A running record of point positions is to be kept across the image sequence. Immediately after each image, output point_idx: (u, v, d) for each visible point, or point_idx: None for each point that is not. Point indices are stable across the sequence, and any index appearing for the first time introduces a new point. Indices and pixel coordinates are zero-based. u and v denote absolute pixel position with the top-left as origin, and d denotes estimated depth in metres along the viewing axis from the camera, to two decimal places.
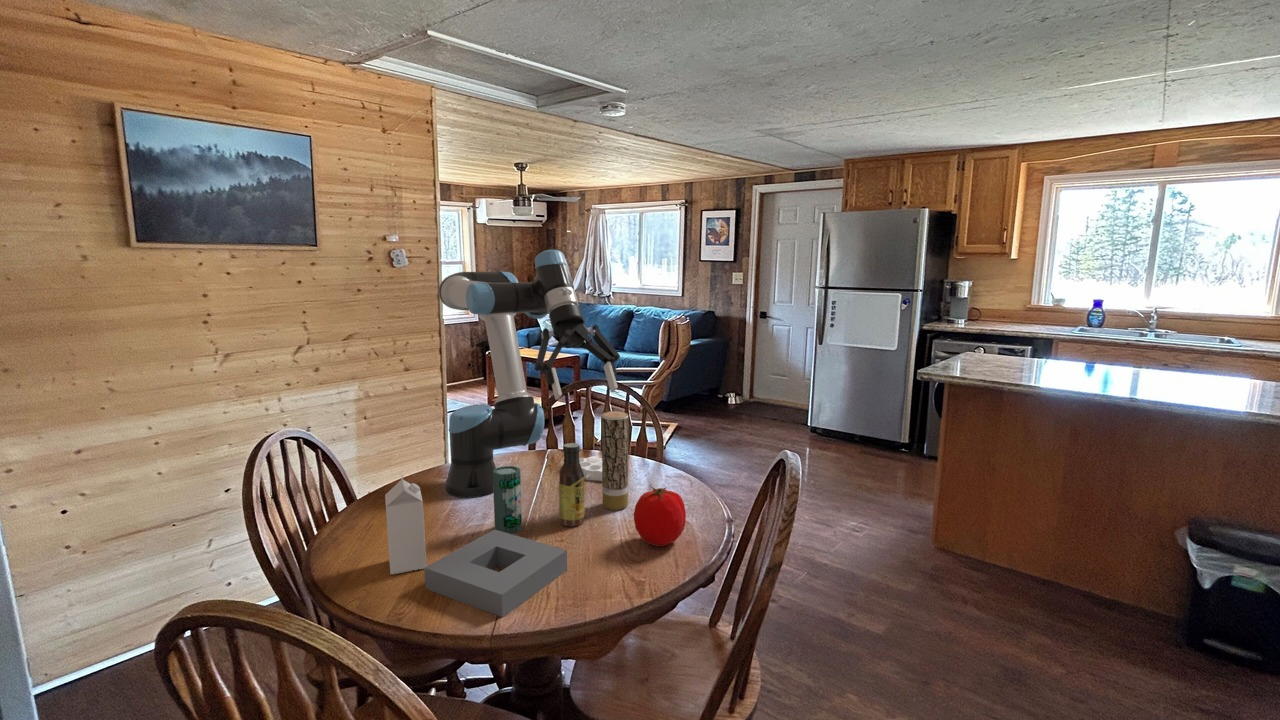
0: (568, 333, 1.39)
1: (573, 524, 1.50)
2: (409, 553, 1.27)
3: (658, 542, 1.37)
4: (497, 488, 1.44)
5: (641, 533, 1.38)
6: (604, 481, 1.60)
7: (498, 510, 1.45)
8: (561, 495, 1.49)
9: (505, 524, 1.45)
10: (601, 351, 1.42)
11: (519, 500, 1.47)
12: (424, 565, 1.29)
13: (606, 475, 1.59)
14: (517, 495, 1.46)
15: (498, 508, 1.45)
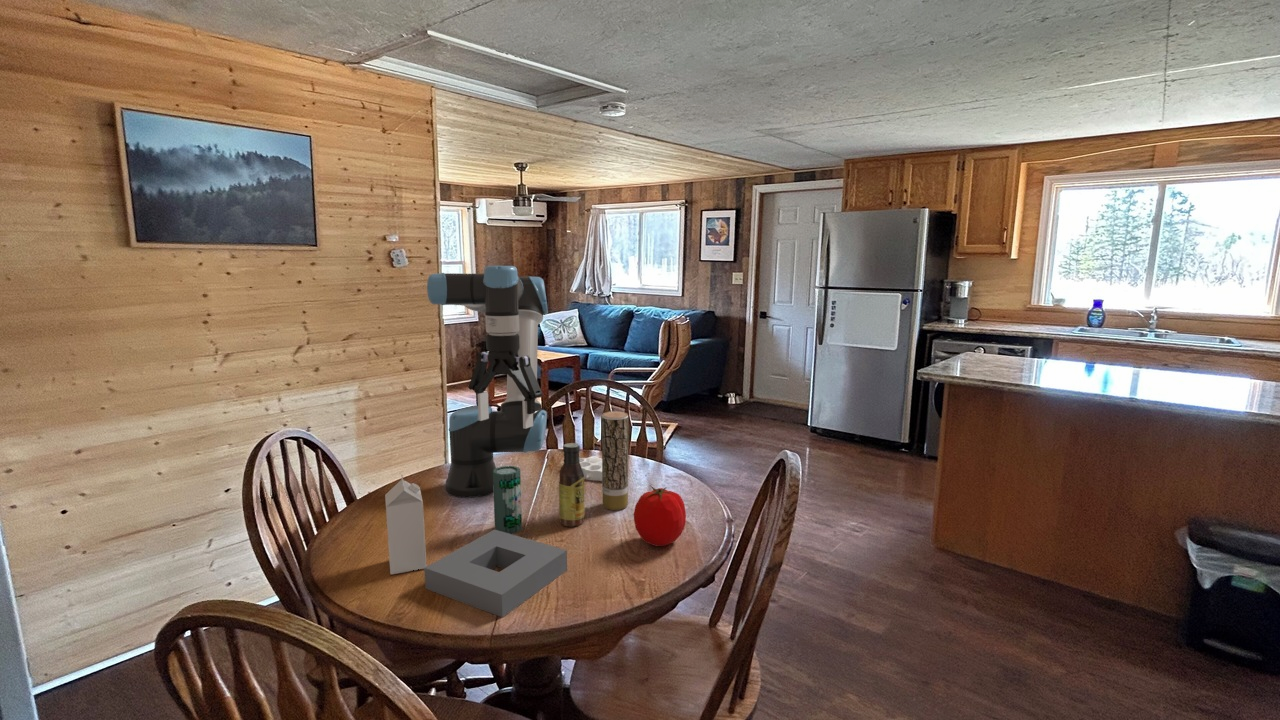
0: (493, 364, 1.41)
1: (573, 524, 1.50)
2: (409, 553, 1.27)
3: (658, 542, 1.37)
4: (497, 488, 1.44)
5: (641, 533, 1.38)
6: (604, 481, 1.60)
7: (498, 510, 1.45)
8: (561, 495, 1.49)
9: (505, 524, 1.45)
10: (520, 387, 1.39)
11: (519, 500, 1.47)
12: (424, 565, 1.29)
13: (606, 475, 1.59)
14: (517, 495, 1.46)
15: (498, 508, 1.45)
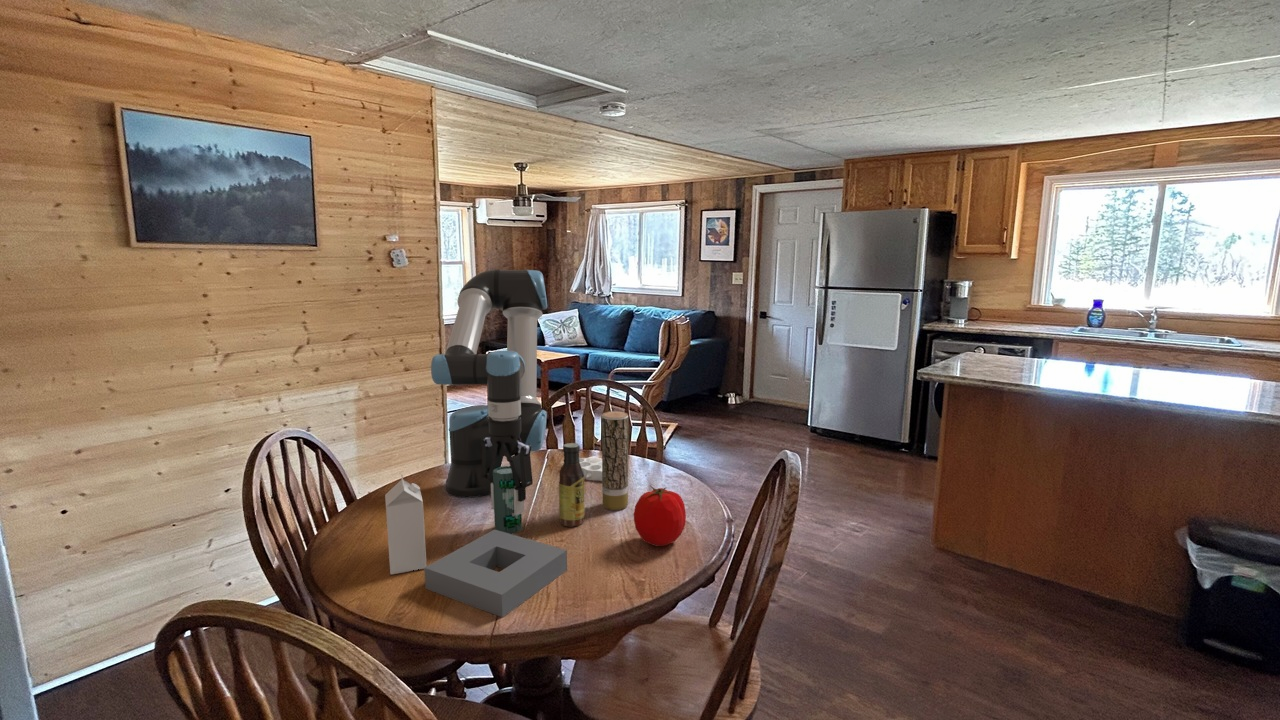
0: (496, 447, 1.44)
1: (573, 524, 1.50)
2: (409, 553, 1.27)
3: (658, 542, 1.37)
4: (497, 488, 1.44)
5: (641, 533, 1.38)
6: (604, 481, 1.60)
7: (498, 510, 1.45)
8: (561, 495, 1.49)
9: (505, 524, 1.45)
10: (514, 474, 1.43)
11: None
12: (424, 565, 1.29)
13: (606, 475, 1.59)
14: None
15: (498, 508, 1.45)
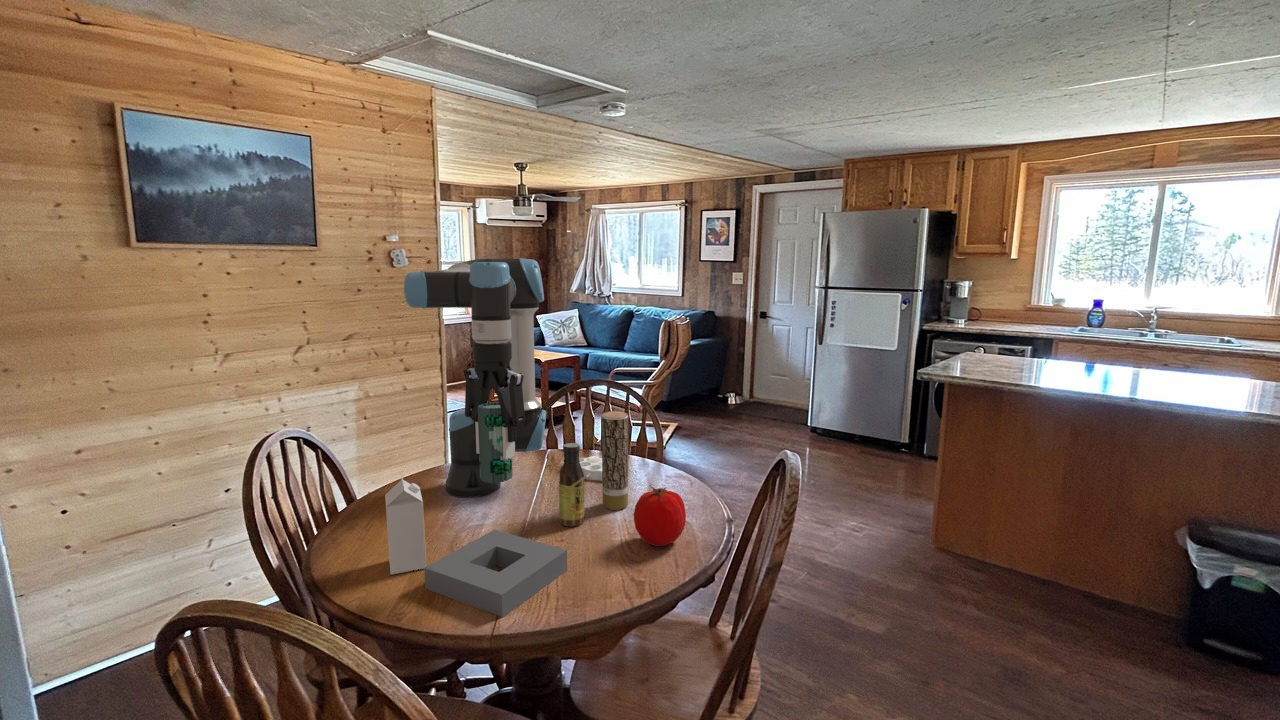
0: (481, 377, 1.21)
1: (573, 524, 1.50)
2: (409, 553, 1.27)
3: (658, 542, 1.37)
4: (482, 426, 1.20)
5: (641, 533, 1.38)
6: (604, 481, 1.60)
7: (484, 453, 1.21)
8: (561, 495, 1.49)
9: (492, 469, 1.21)
10: (503, 409, 1.20)
11: None
12: (424, 565, 1.29)
13: (606, 475, 1.59)
14: None
15: (484, 450, 1.21)
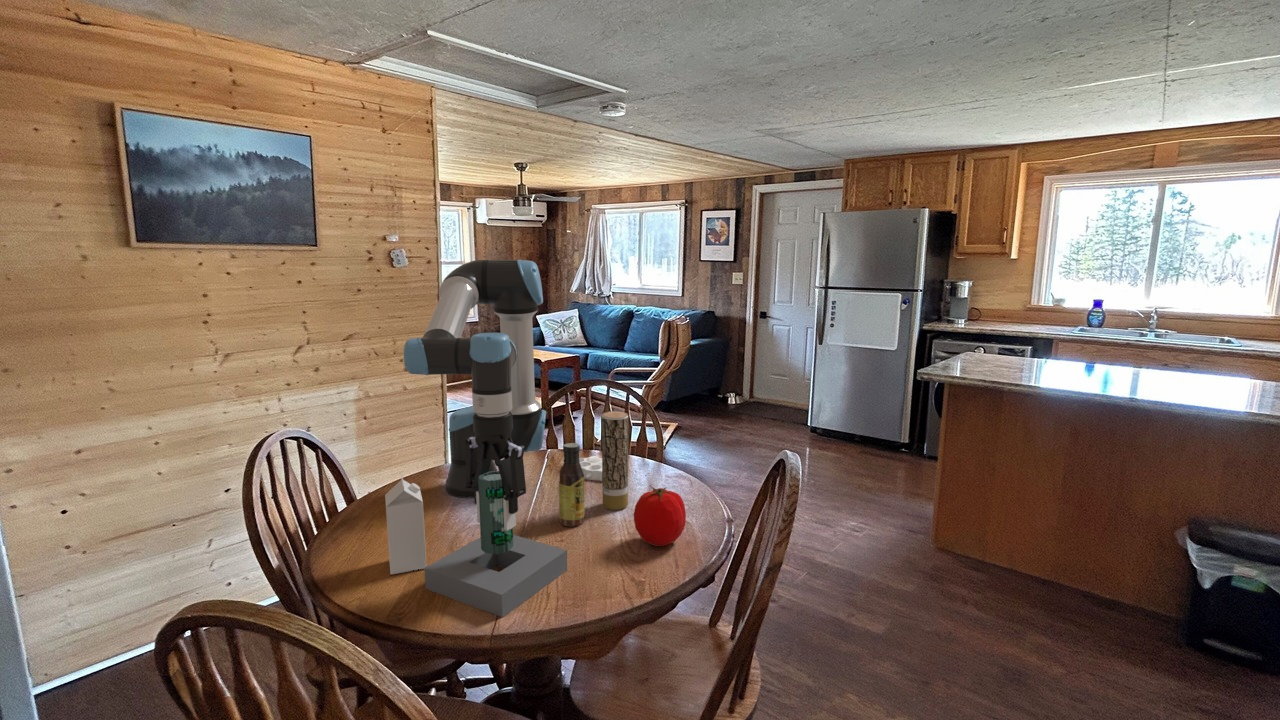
0: (482, 448, 1.20)
1: (573, 524, 1.50)
2: (409, 553, 1.27)
3: (658, 542, 1.37)
4: (483, 498, 1.20)
5: (641, 533, 1.38)
6: (604, 481, 1.60)
7: (485, 524, 1.21)
8: (561, 495, 1.50)
9: (493, 541, 1.21)
10: (504, 481, 1.19)
11: None
12: (424, 565, 1.29)
13: (606, 475, 1.59)
14: None
15: (485, 522, 1.21)
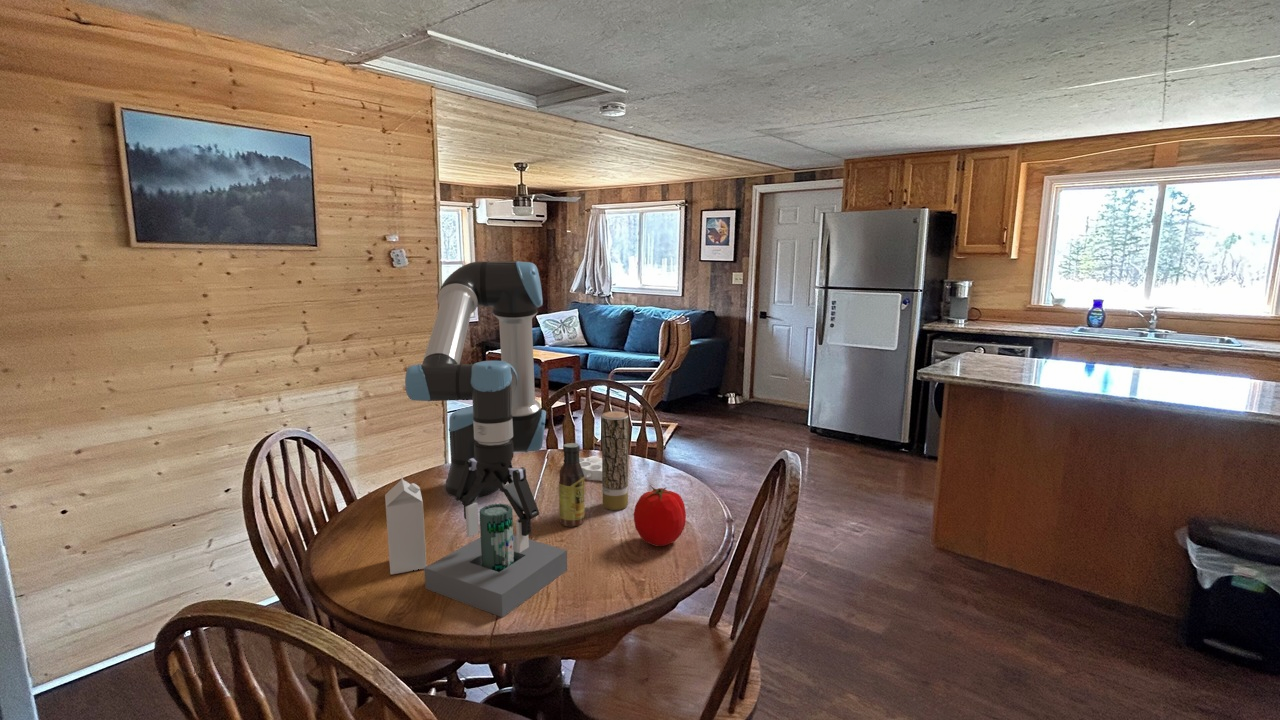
0: (482, 475, 1.21)
1: (573, 524, 1.50)
2: (409, 553, 1.27)
3: (658, 542, 1.37)
4: (484, 532, 1.21)
5: (641, 533, 1.38)
6: (604, 481, 1.60)
7: (486, 558, 1.22)
8: (561, 495, 1.49)
9: None
10: (513, 505, 1.19)
11: (511, 545, 1.24)
12: (424, 565, 1.29)
13: (606, 475, 1.59)
14: (508, 540, 1.22)
15: (486, 555, 1.22)
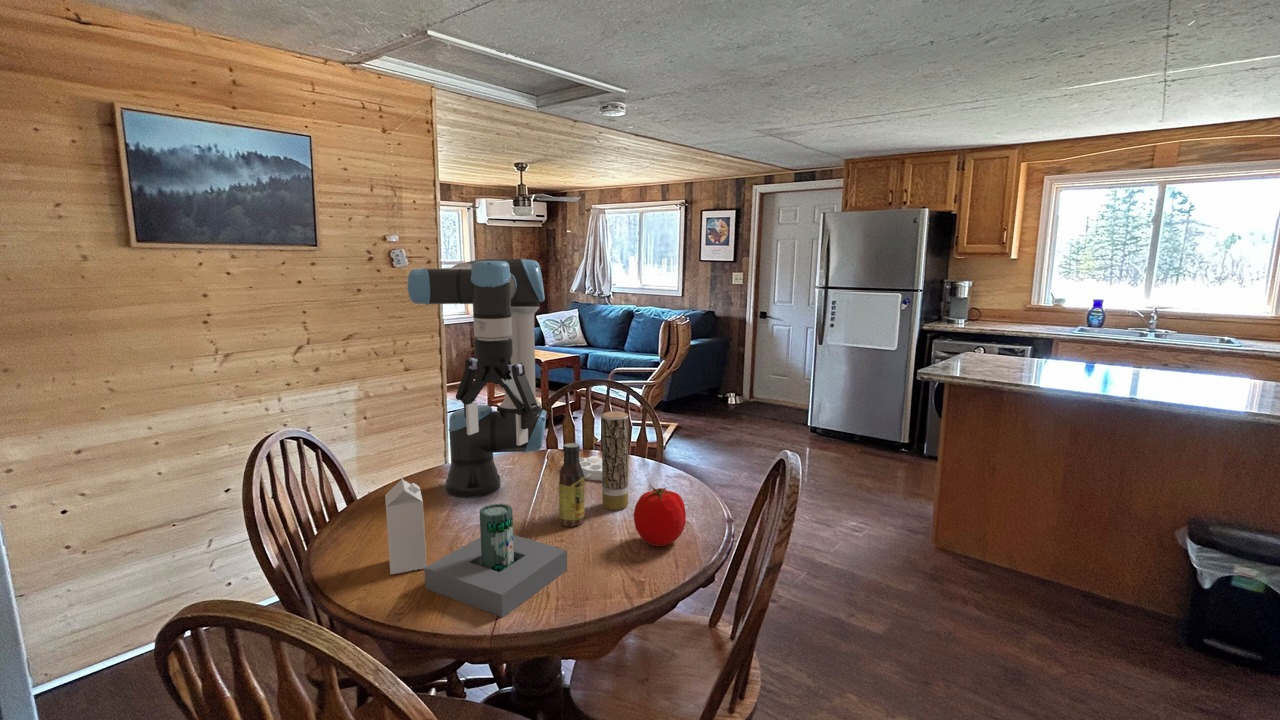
0: (482, 372, 1.25)
1: (573, 524, 1.50)
2: (409, 553, 1.27)
3: (658, 542, 1.37)
4: (485, 532, 1.21)
5: (641, 533, 1.38)
6: (604, 481, 1.60)
7: (486, 558, 1.22)
8: (561, 495, 1.49)
9: None
10: (513, 399, 1.23)
11: (511, 545, 1.24)
12: (424, 565, 1.29)
13: (606, 475, 1.59)
14: (508, 540, 1.22)
15: (486, 555, 1.22)
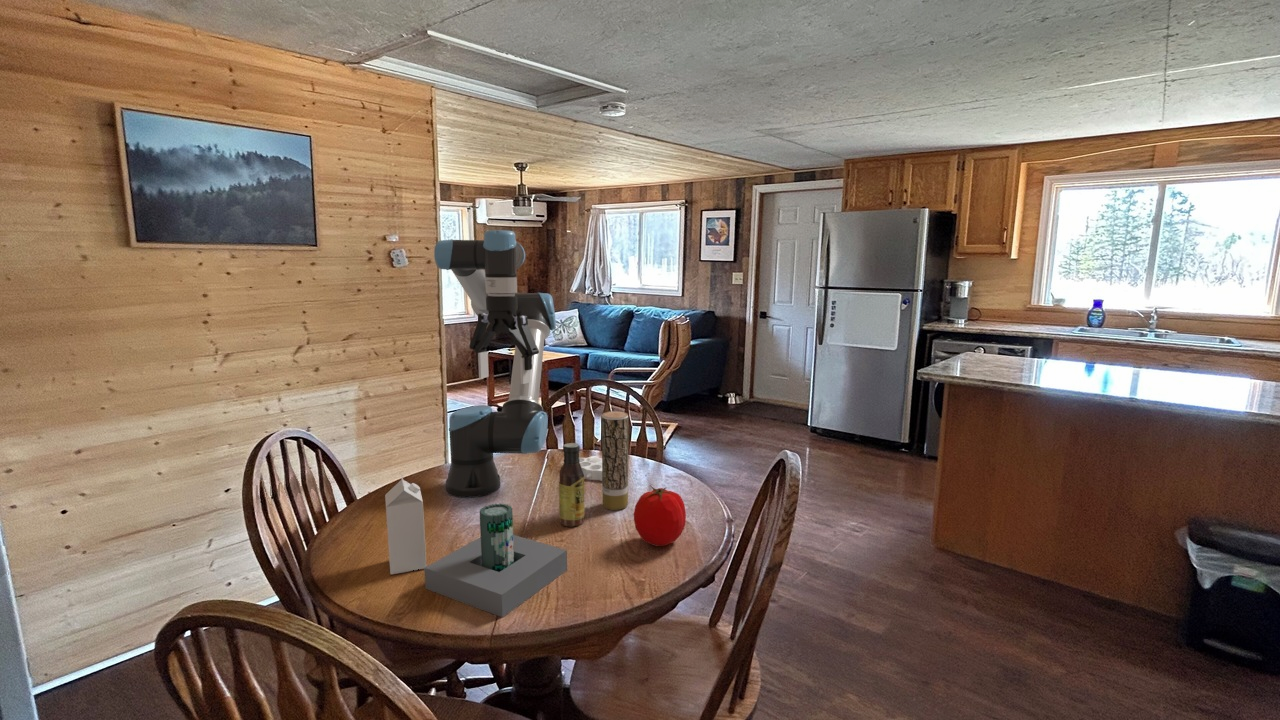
0: (492, 323, 1.50)
1: (573, 524, 1.50)
2: (409, 553, 1.27)
3: (658, 542, 1.37)
4: (485, 532, 1.21)
5: (641, 533, 1.38)
6: (604, 481, 1.60)
7: (486, 558, 1.22)
8: (561, 495, 1.49)
9: None
10: (518, 345, 1.48)
11: (511, 545, 1.24)
12: (424, 565, 1.29)
13: (606, 475, 1.59)
14: (508, 540, 1.22)
15: (486, 555, 1.22)
